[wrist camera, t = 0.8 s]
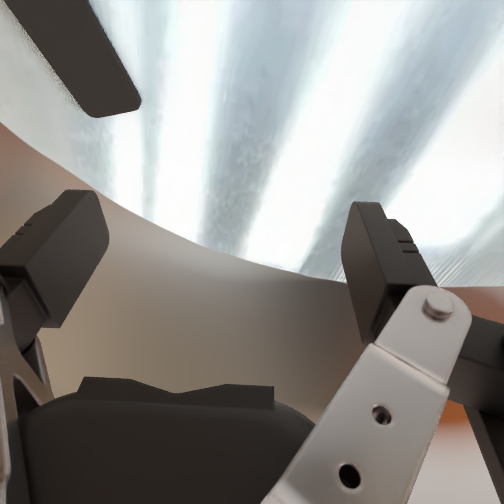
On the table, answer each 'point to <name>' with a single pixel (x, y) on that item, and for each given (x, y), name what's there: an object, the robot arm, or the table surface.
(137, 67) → the table surface
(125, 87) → the phone
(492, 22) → the table surface
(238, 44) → the table surface
